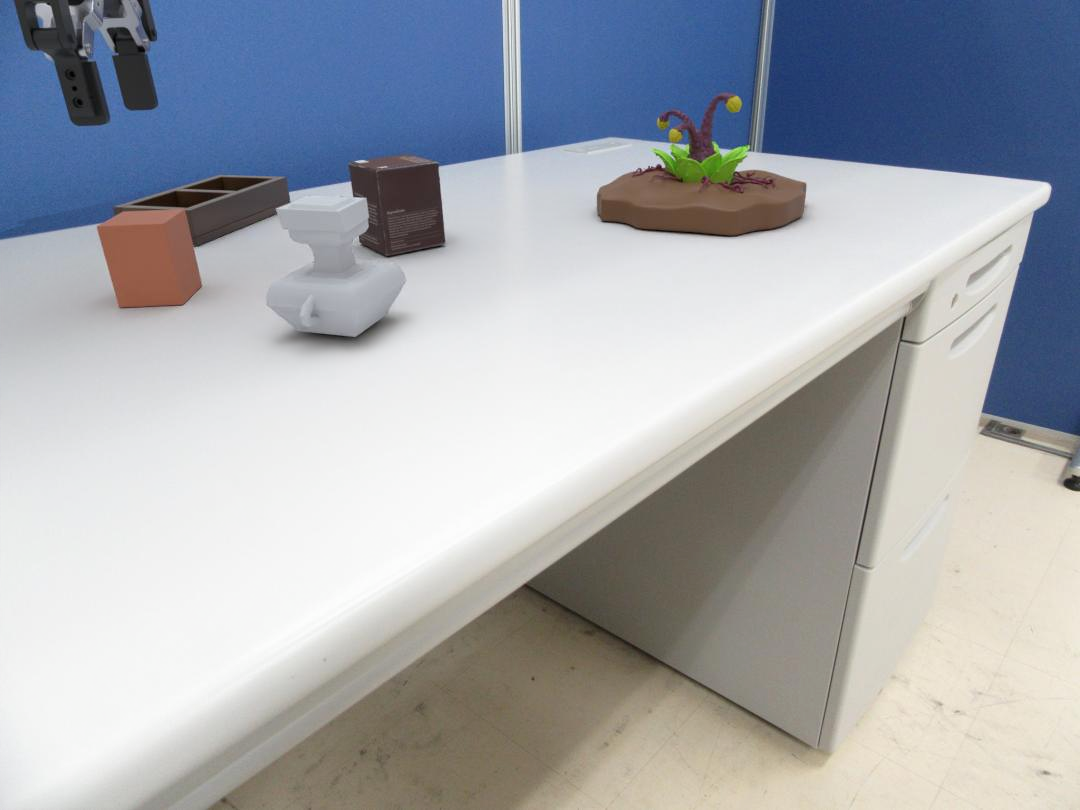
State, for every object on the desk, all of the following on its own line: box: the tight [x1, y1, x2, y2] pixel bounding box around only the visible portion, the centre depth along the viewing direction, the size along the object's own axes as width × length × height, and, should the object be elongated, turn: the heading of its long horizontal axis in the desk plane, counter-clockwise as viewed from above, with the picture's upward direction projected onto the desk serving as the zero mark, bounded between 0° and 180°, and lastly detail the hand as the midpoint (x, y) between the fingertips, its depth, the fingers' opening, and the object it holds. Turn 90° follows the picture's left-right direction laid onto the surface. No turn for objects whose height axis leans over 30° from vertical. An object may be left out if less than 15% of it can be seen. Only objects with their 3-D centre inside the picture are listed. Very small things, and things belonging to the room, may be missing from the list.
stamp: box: [265, 195, 407, 338], centre depth 51 cm, size 9×7×8 cm
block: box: [96, 209, 203, 309], centre depth 58 cm, size 5×5×6 cm
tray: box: [112, 174, 291, 247], centre depth 80 cm, size 8×16×3 cm, turn 164°
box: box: [347, 153, 446, 257], centre depth 70 cm, size 6×6×7 cm
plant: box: [596, 92, 808, 236], centre depth 78 cm, size 20×20×11 cm
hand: (119, 116), depth 54 cm, fingers open, 8 cm apart
